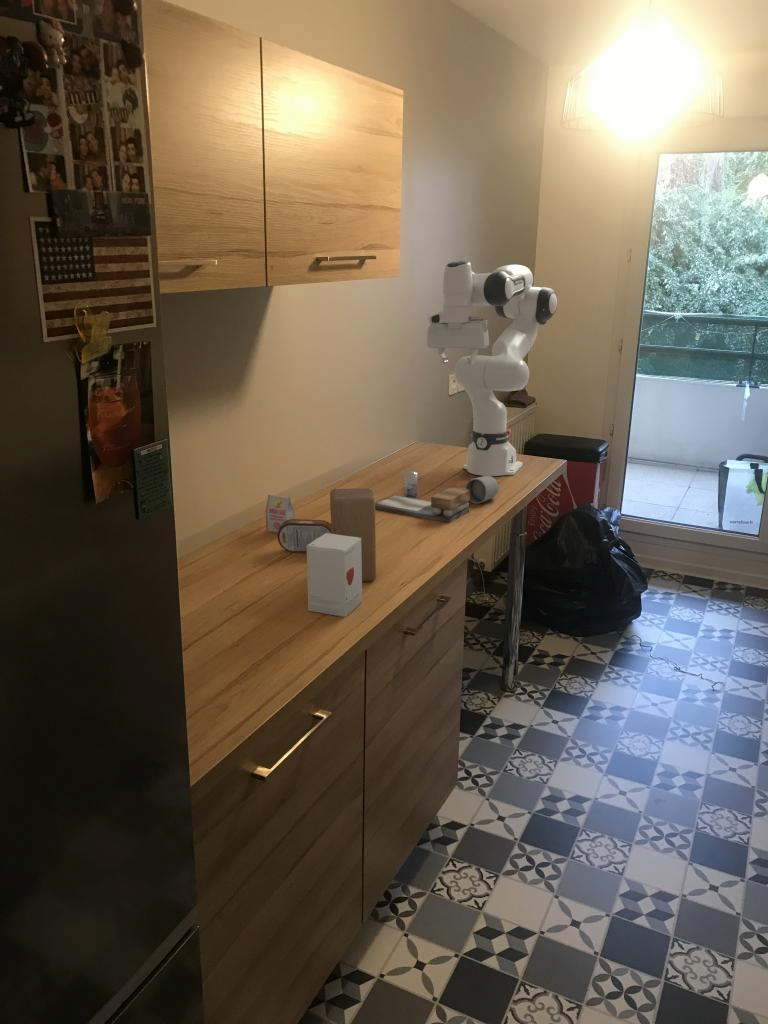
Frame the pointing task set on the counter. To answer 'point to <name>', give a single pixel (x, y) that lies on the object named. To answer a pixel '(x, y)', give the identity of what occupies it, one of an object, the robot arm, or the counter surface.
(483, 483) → the ceramic mug
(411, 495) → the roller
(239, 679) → the counter surface
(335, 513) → the wooden block
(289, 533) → the tin
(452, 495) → the grey board with block
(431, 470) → the counter surface
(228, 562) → the counter surface
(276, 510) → the tea bag
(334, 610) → the supplement box
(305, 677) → the counter surface
